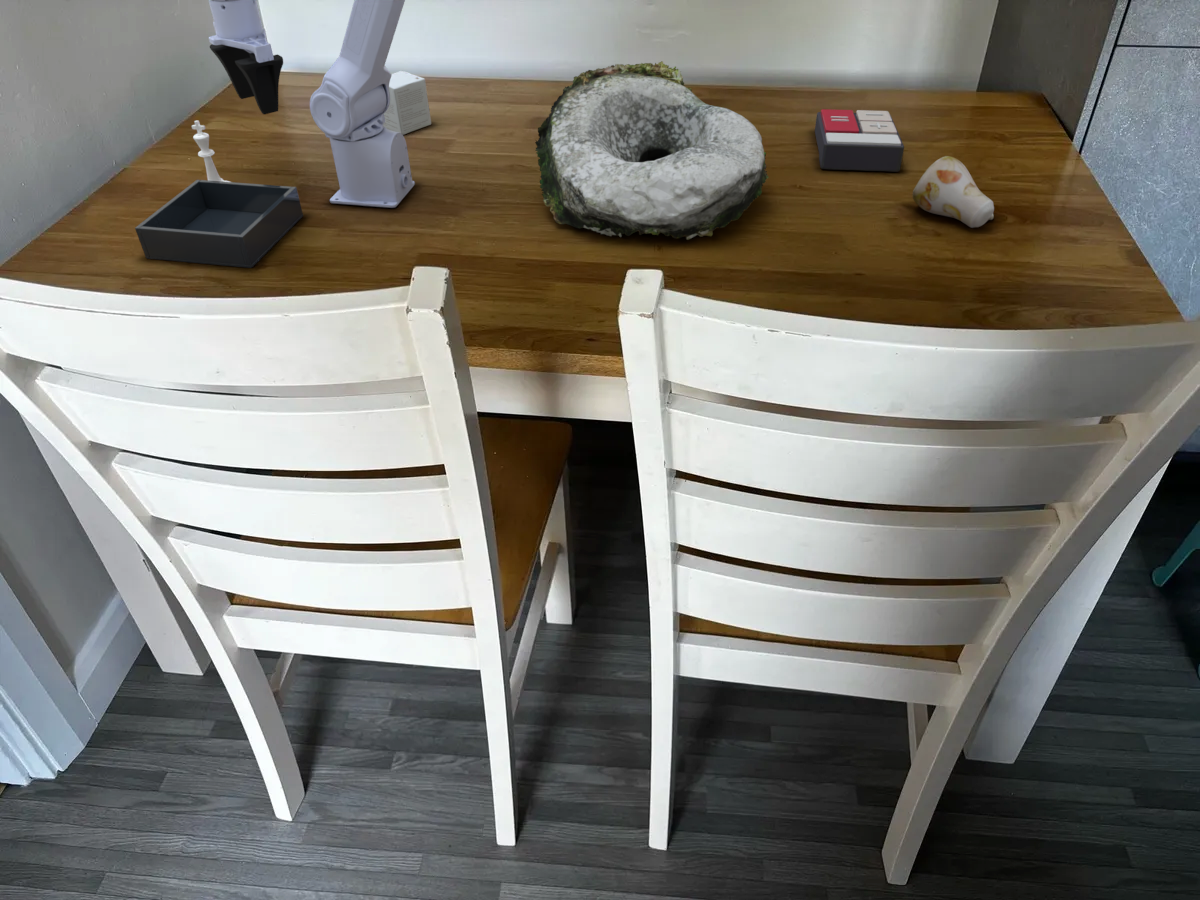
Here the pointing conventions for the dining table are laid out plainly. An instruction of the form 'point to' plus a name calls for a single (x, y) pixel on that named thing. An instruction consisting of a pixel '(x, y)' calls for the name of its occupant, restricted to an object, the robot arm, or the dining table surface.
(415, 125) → the product box
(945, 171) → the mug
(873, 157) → the calculator
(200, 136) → the chess piece
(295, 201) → the square open tray
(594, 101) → the stone basin
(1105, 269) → the dining table surface
